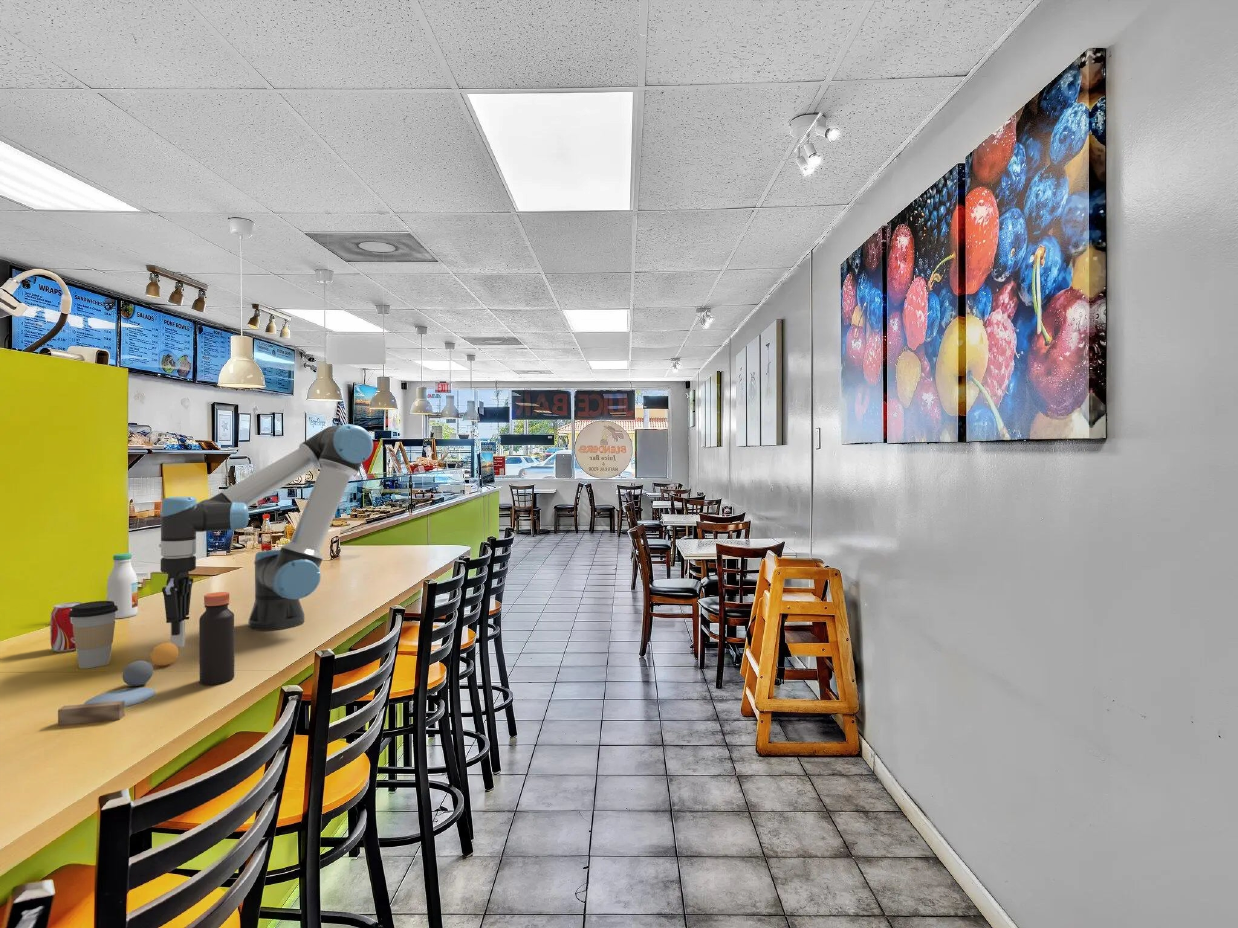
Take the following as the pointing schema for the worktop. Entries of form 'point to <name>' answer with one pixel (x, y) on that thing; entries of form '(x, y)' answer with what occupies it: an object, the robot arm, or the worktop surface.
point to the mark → (124, 696)
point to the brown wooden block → (91, 712)
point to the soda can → (62, 628)
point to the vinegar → (216, 640)
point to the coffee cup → (93, 632)
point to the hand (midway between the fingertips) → (177, 646)
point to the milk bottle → (123, 586)
